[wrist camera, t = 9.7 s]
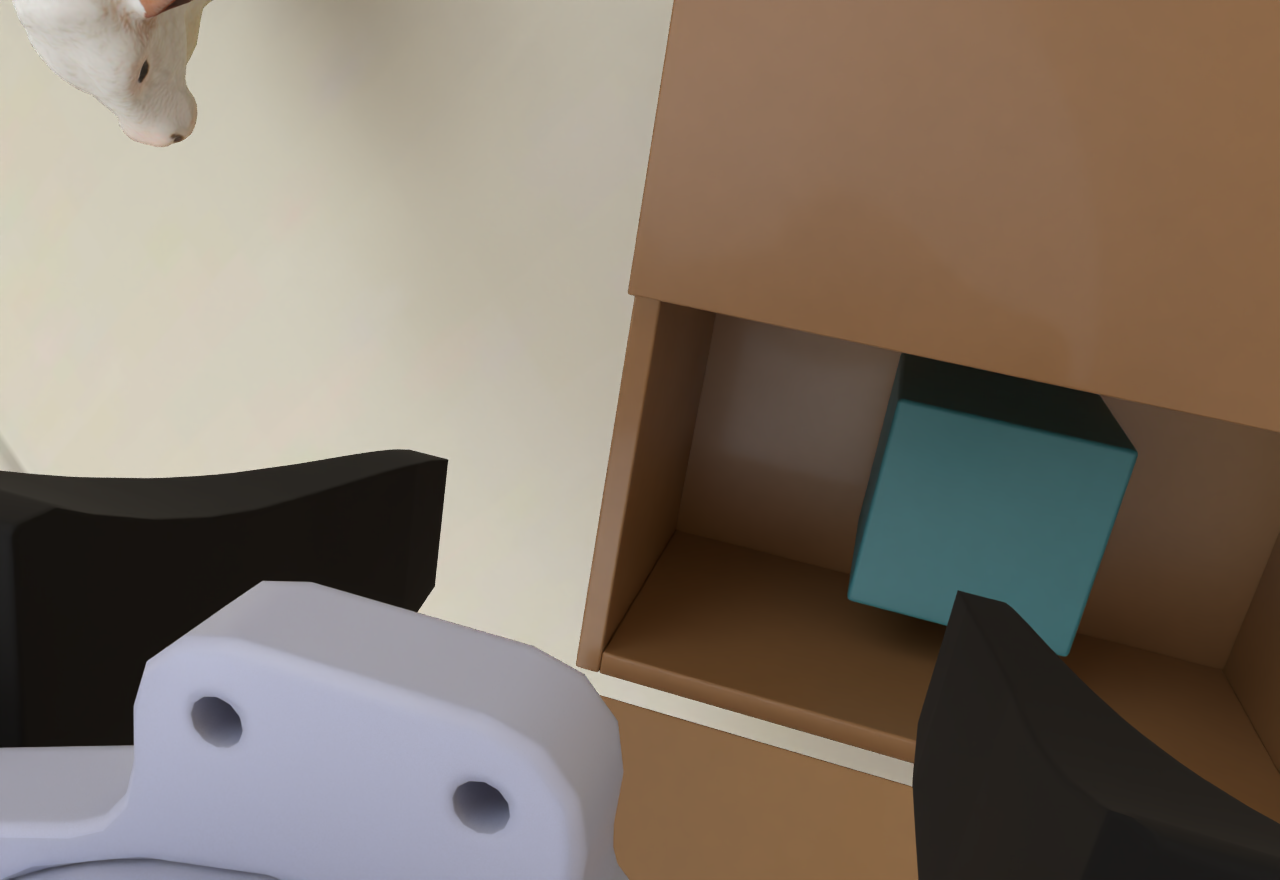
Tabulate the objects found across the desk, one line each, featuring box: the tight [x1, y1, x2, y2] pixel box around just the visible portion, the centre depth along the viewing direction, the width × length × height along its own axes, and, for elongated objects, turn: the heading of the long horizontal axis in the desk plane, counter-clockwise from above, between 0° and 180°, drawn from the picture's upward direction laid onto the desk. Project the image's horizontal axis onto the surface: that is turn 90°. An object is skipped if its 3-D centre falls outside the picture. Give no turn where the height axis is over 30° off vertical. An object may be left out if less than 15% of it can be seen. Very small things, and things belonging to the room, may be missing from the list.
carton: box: [576, 0, 1280, 824], centre depth 18 cm, size 14×13×7 cm
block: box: [847, 353, 1138, 656], centre depth 20 cm, size 4×4×4 cm
